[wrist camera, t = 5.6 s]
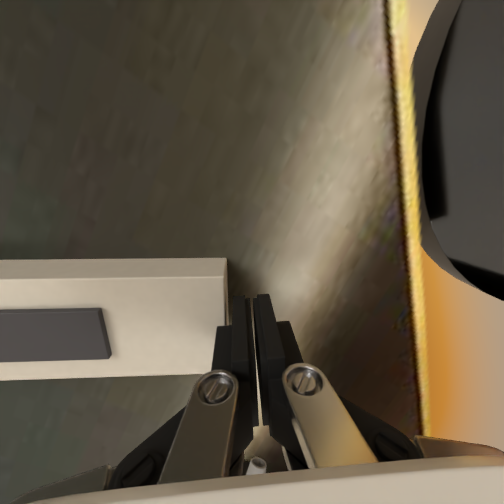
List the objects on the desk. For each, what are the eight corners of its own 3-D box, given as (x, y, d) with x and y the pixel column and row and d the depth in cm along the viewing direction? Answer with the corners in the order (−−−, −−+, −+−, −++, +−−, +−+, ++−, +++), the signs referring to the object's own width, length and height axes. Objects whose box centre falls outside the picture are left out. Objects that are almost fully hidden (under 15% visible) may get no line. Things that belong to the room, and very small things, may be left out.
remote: (226, 257, 12) (223, 279, 9) (229, 341, 13) (226, 378, 11) (-128, 260, 11) (-230, 286, 8) (-79, 349, 12) (-153, 391, 10)
